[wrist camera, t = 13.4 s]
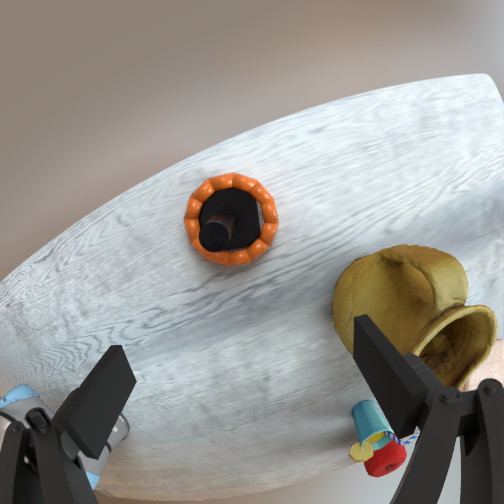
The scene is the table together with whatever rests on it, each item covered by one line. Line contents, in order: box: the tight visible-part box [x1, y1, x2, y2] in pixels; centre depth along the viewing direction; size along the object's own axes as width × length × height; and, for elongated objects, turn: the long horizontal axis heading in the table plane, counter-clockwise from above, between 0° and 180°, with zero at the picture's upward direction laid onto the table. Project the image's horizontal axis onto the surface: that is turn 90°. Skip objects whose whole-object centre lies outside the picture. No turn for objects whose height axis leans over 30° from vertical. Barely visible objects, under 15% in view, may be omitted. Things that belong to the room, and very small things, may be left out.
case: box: [460, 339, 504, 392], centre depth 42 cm, size 20×21×16 cm
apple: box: [364, 434, 407, 477], centre depth 47 cm, size 11×10×14 cm
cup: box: [349, 400, 419, 461], centre depth 43 cm, size 14×8×15 cm, turn 118°
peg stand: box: [198, 187, 261, 253], centre depth 33 cm, size 9×9×15 cm
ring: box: [184, 173, 279, 267], centre depth 39 cm, size 13×13×2 cm
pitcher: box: [332, 244, 498, 390], centre depth 32 cm, size 17×19×25 cm
